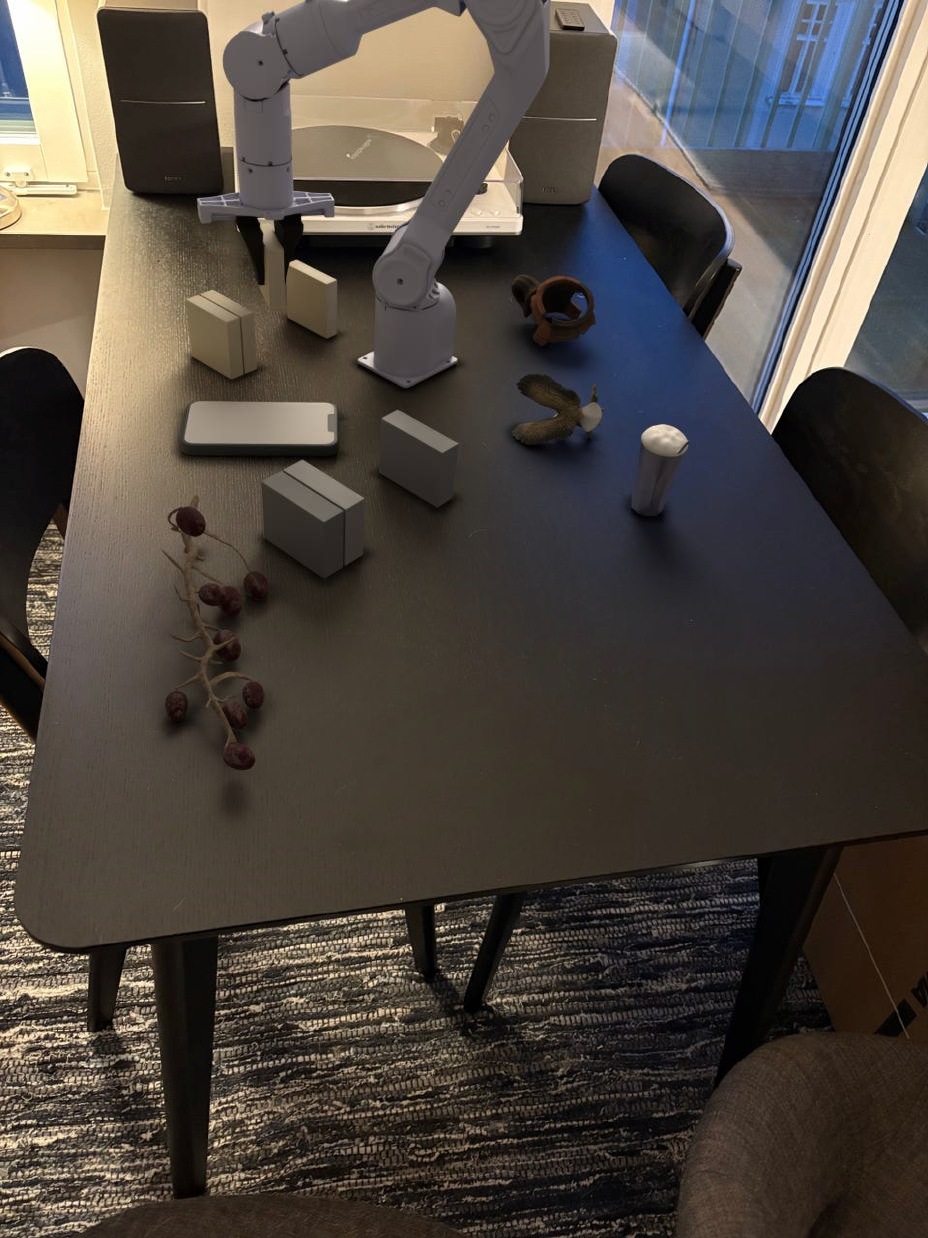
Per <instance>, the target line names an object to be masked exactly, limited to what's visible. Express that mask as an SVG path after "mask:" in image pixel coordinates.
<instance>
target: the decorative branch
mask: <svg viewBox="0 0 928 1238" xmlns="http://www.w3.org/2000/svg"><path fill="white" fill-rule="evenodd" d="M199 501H200V496H199V495H198V494H195V495H194V496H193V498H192V499H191V501H190V504H189V506H180V507H177V508H175V509H173V510H171V511H170V512H169V513H168V515H167V522H168V523H169V524H170V526H171V527H170V530H171V531H173V532H174V533H175V532H176V533H179V534H180V536H181V538H182V542H183V544H184V546H185V547H184V549H183V552H184V554H187V555H186V558H185V560H184V563H183V564H181V563H179V562H178V561H176V560H175V559H174V558H173V557H172V556H171V555H169V554H168V553H167V552H166V551H165V550H164V549H162V548H160V550H161V552H162V553H163V554H164V555H165V556H166V557H167V559H168V560H169V561H170V562H171V563H172V564H173V565H174V566H175V567H176V568H177V569H178V570H179V571H180V572H181V573H182V576H183V582H184V587H185V588H184V589H185V592H186V597H187V598H184V597H183V596H181V593H180V591H179V589H178V586H177V584H176V582H173V586H174V591H175V594H176V595H177V597H178V599H179V600H180V601H182V602H187V608H188V610H189V614H190V617H191V620H192V623H193V624H194V627H195V630H196V633H195V634H194V635H193V636H191V637H189V638H183V637H181V636H177V635H173V634H168V635H169V637H171V638H172V639H174V640H178V641H180V642H183V643H187V644H189V643H192V642H193V641H195V640H197V639H200V640H201V642H202V643H203V644H204V646H205V648H206V652H205V653H204V656H202V657H199V656H195V655H191V654H189V653H187V652H184V651H183V650H179V654H180V655H182V656H183V657H185V658H187V659H189V660H191V661H194V662H197V663H199V664H200V665H199V669H198V672H197V673H196V674H195V675H194V676H192V677H190V678H189V679H187V680H185V681H184V682H182V683H181V684H179V685H178V686H176V687H175V688H173V691H170V692H169V693H168V694H167V695H166V698H165V702H164V707H165V712H166V714H167V717H168V718H169V719H170V720H171V721H173V722H180V721H182V720H183V719H184V717H186V714H187V710H188V707H189V701H188V697H187V695H186V694H185V693H184V692H183V691H180V690H179V689H181V688H183V687H185V686H188V685H190V684H192V683H195V682H200V685H201V686H202V689H203V692H204V694H205V696H206V699H207V703H206V706H205V709H208V708H209V706H211V708H212V709H213V711H214V713H215V715H216V717H217V718H218V719H219V721H220V722H221V724H222V726H223V729H224V732H225V734H226V737H227V740H226V743H225V746H224V749H223V753H222V757H223V761H224V763H225V764H226V765H227V766H228V767H229V768H231V769H233V770H237V771H248V770H250V769H252V768H253V767H254V765H255V763H256V755H255V753H254V752H253V751H252V750H251V748H249V746H246V745H245V744H242V743H239V742H238V740H237V739H236V737H235V735H234V734H235V733H234V732H233V730H232V728H233V729H235V730H242V729H244V728H246V727H247V726H248V723H249V715H248V713H247V711H246V710H245V708H244V707H243V705H241V704H240V703H238V702H237V701H229V700H230V699H234V698H237V696H238V695H237V694H234V693H232V694H229V695H227V696H226V697H224V698H223V699H220V698H219V697H217V696H215V694H214V692H213V689H214V687H215V686H216V685H217V684H218V683H220V682H221V681H222V680H226V679H241V680H246V681H249V682H247V683H246V684H244V686H243V687H242V693H241V695H242V699H243V702H244V703H245V705H246V707H248V709H250V710H259V709H261V707H262V706H264V702H265V696H266V695H265V689H264V687H263V685H262V684H261V683H260V682H258V681H254V678H253V677H251V676H249V675H247V674H244V673H240V672H237V671H227V672H226V671H225V672H224V673H220V674H219V675H217V676H215V677H214V678H213V679H210V680H209V679H208V676H207V668H208V666H209V665H210V666H217V665H218V666H219V665H223V662H222V661H218V660H217V661H216V660H213V659H212V658H213V657H214V655H215V654H216V655H217V656H218V657H219V658H220V659H221V660H223V661H224V662H228V663H229V662H230V663H234V662H236V661H237V660H239V659H240V656H241V654H242V653H241V652H242V645H241V641H240V639H239V637H238V636H237V635H236V633H234V632H233V631H231V630H229V629H224V630H223V629H220V628H219V627H217V626H214V625H211V624H209V623H207V622H203V620H202V619H201V609H200V603H199V602H198V601H197V597H196V594H197V595H198V598H199V600H200V601H201V603H203V604H205V605H207V606H210V607H217V608H218V609H219V611H220V612H221V613H222V614H223V615H224V616H226V617H229V618H235V617H237V616H238V615H239V614H240V613H241V611H242V608H243V596H242V594H241V592H240V590H239V589H237V588H236V587H234V586H230V585H227V584H225V583H224V582H223V581H221V580H219V579H217V578H215V577H213V576H212V575H210V574H208V573H206V572H205V571H203V570H202V569H201V568H200V567H199V565H198V564H197V562H196V560H198V561H200V562H204V561H206V556H205V555H204V554H203V555H202V556H201V555H199V554H198V553H199V552H198V549H197V548H196V547H195V545H194V542H193V540H192V538H198V537H200V536H202V535H203V534H204V535H206V536H207V537H210V538H213V539H214V540H216V541H218V542H219V543H221V544H224V545H227V546H229V547H231V548H232V549H233V550H234V551H236V553H237V554H238V556H240V558H241V559H242V561H243V563H244V565H245V567H246V568H247V571H248V573H246V574H245V576H244V577H243V581H242V583H243V584H242V585H243V589H244V592H245V593H246V595H247V596H248V597H250V598H251V599H253V600H255V601H263V600H265V599H266V598H267V596H268V594H269V591H270V585H269V581H268V578H267V577H266V576H265V574H263V573H262V572H260V571H257V570H253V571H250V567H249V565H248V563H247V561H246V559H245V558H244V556H243V554H242V553H241V552H240V551H239V550H238V549H237V548H236V547H235V546H233V544H231V543H230V542H228V541H226V540H224V539H222V538H221V537H219V536H218V535H216V534H215V533H213V532H212V531H211V530H209V529H207V522H206V518H205V517H204V515H203V514H202V513H201V511H200V510H198V506H199ZM174 514H175V523H174V522H172V521H171V519H172V516H173V515H174ZM193 570H196V571H197V572H198V573H199V574H201V575H202V576H203V577H204V578H207V579H209V580H211V581H213V583H212V582H208V583H204V584H203V585H202V586H201V587H200V588H195V587H194V584H193ZM214 582H216V583H217V584H216V583H214ZM219 584H220V585H222V586H223V587H221V586H220V585H219ZM206 629H207V630H211V631H215V632H216V633H215V634H214V636H213V638H211V636H210V635H209V634H208V632H207V630H206ZM212 639H213V640H212ZM226 702H227V703H226ZM219 703H220V704H224V705H222V707H221V706H220V704H219Z"/></svg>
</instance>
